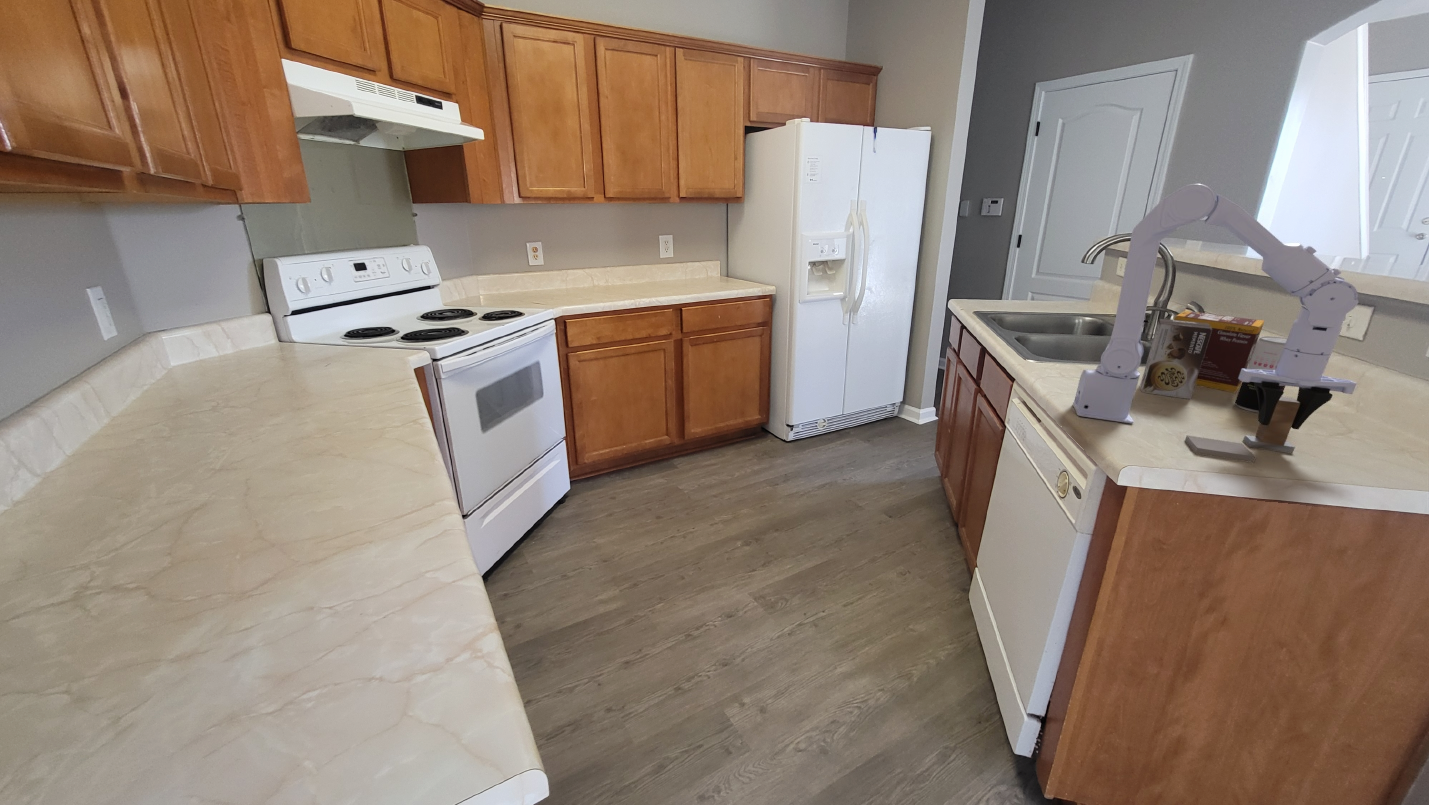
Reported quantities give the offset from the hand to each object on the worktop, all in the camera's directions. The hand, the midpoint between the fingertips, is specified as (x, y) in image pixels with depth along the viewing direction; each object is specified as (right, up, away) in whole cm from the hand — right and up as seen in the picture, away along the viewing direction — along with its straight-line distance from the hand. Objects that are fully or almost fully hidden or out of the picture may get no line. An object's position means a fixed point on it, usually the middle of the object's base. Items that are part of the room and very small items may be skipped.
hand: (1277, 425), depth 101 cm
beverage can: (+16, +3, +21) cm, 26 cm away
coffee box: (+3, +6, +30) cm, 31 cm away
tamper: (0, -4, +2) cm, 5 cm away
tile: (-9, -3, +2) cm, 10 cm away
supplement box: (+19, +9, +39) cm, 44 cm away
